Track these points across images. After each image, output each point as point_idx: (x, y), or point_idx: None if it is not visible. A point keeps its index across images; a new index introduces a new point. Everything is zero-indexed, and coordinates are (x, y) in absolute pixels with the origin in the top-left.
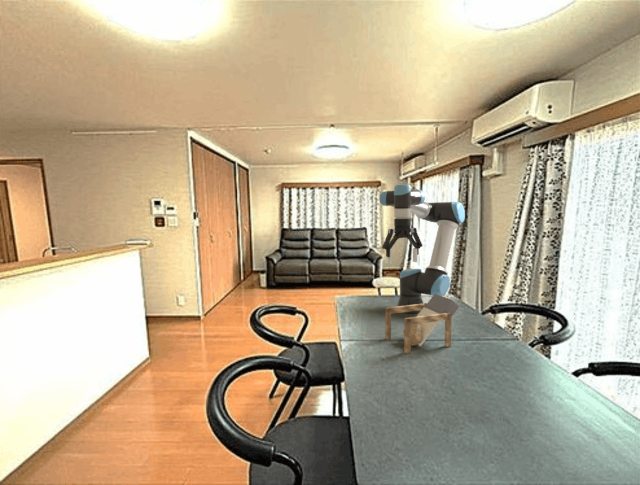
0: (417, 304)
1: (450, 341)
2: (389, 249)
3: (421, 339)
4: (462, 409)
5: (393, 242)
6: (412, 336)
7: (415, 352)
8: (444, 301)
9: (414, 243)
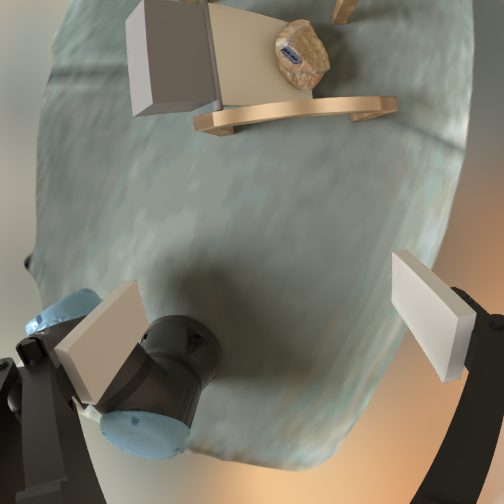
0: (243, 116)
1: None
2: (496, 316)
3: (292, 21)
4: None
5: (486, 411)
6: (315, 33)
7: (317, 16)
8: (162, 24)
9: (46, 400)
